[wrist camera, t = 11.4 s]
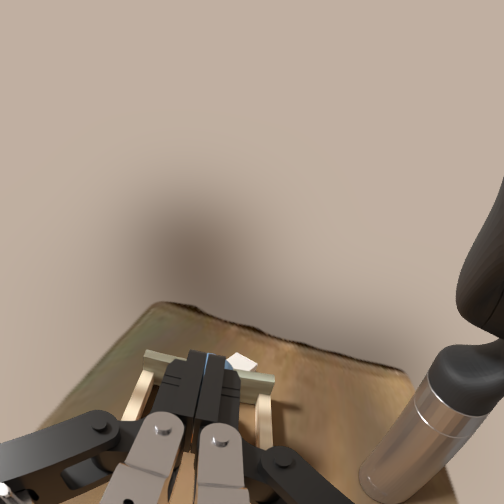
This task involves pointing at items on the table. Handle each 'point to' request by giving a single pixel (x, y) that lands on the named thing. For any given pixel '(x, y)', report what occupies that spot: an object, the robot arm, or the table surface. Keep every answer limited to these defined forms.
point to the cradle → (252, 392)
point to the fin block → (242, 363)
